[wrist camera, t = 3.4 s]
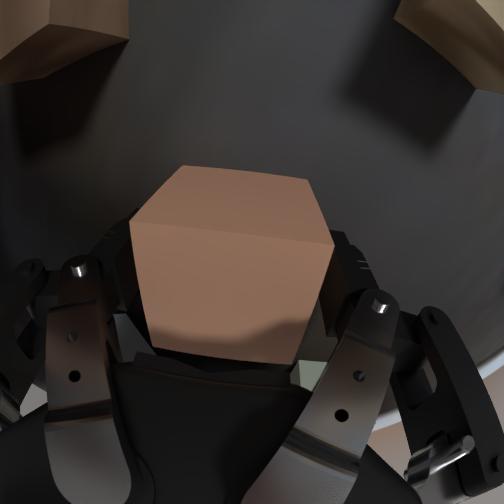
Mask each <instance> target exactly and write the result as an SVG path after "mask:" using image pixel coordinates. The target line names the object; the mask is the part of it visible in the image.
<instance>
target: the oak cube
mask: <svg viewBox="0 0 504 504" xmlns="http://www.w3.org/2000/svg"><path fill="white" fill-rule="evenodd" d="M393 19H394V20H396V21H397V22H399V23H400V24H402V25H403V26H405V27H406V28H407V29H409V30H410V31H412V32H413V33H414V34H416V35H417V36H418V37H420V38H421V39H422V40H424V41H425V42H426V43H427V44H429V45H430V46H431V47H432V48H434V49H435V50H436V51H437V52H438V53H440V54H441V55H442V56H443V57H444V58H445V59H446V60H448V61H449V62H450V63H451V64H452V65H453V66H454V67H455V68H456V69H457V70H458V71H459V72H460V73H461V74H462V75H463V76H464V77H465V78H466V79H467V80H468V81H469V82H470V83H471V84H472V85H473V86H474V87H475V88H476V89H481V90H487V91H492V92H497V93H501V94H504V0H401V2H400V4H399V7H398V9H397V11H396V14H395V16H394V18H393Z"/></svg>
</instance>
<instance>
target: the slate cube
mask: <svg viewBox="0 0 504 504" xmlns="http://www.w3.org/2000/svg"><path fill="white" fill-rule="evenodd" d="M113 316H114V319H115V323H116V329H117V334H118V340H119V345H120V349H121V354H122V358H123V362H133V360H134V357H135V355H136V352H137V351H139V352H143V353H148V354H152V355H156V354H155V352H154V351H153V350H152V349H151V347H150V346H149V345H148V343H147V342H146V341H145V339H144V338H143V337H142V335H141V334H140V333H139V331H138V330H137V328H136V327H135V326H134V324H133V323H132V321H131V320H130V318H129V317H128V316H127V314H126V313H125V314H113Z"/></svg>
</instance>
